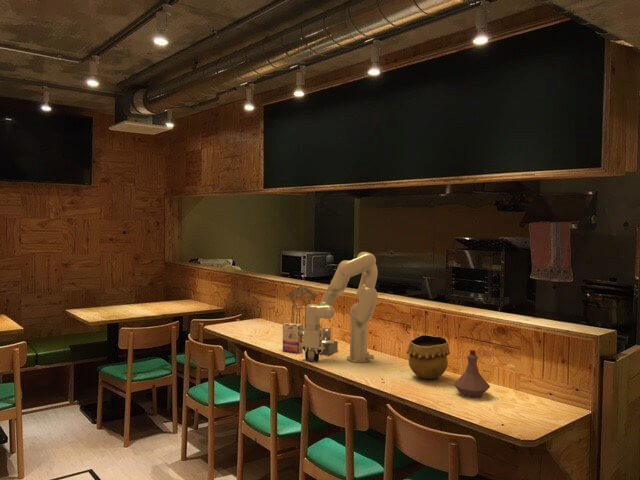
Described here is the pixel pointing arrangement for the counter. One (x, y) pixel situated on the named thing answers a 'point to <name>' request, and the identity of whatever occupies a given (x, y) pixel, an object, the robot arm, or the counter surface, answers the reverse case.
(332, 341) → the pan
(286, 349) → the candy bar box
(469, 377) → the flask
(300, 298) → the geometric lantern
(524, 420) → the counter surface
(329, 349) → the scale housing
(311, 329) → the robot arm
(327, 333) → the disc
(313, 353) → the cylinder
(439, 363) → the clay pot
